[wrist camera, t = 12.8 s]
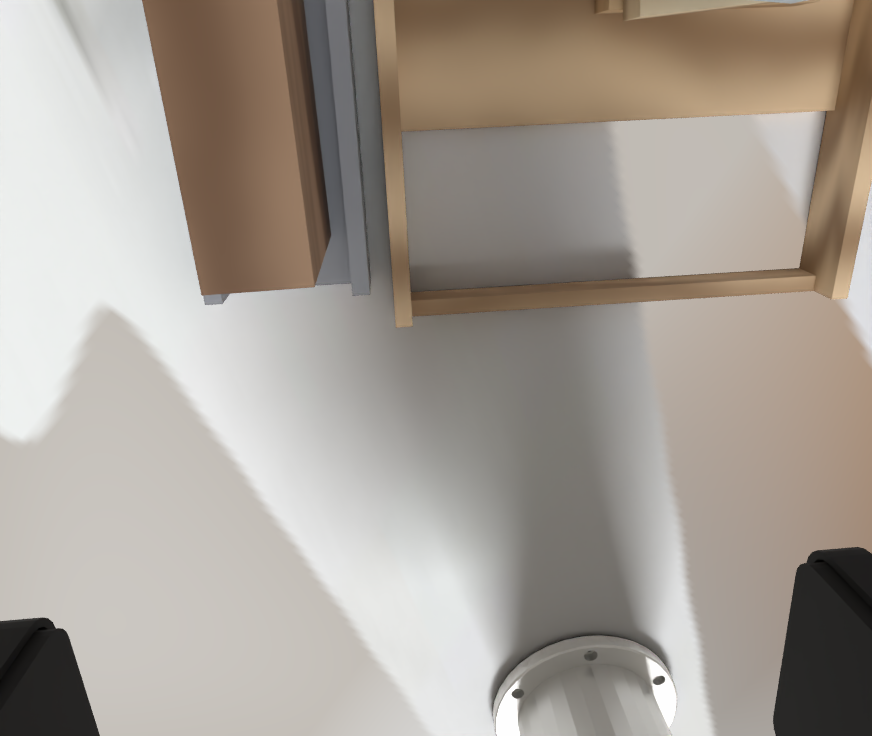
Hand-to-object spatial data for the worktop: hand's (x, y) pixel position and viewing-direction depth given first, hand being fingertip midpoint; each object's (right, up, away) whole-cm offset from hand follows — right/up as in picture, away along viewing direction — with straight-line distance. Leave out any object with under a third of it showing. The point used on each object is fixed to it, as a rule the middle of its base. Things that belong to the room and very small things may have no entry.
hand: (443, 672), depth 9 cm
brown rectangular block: (-7, +16, +21) cm, 27 cm away
